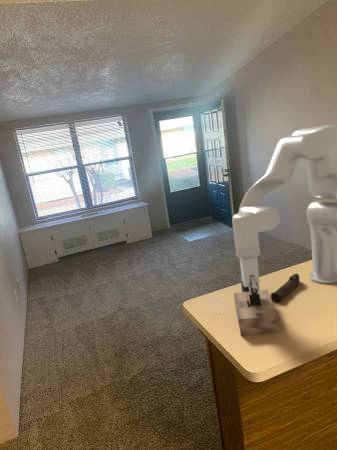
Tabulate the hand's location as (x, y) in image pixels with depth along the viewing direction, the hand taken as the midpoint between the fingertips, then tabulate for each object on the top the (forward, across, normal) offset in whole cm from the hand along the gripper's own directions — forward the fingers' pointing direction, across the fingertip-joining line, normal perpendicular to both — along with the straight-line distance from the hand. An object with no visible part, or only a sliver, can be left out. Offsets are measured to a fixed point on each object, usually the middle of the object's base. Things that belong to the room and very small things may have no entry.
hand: (253, 297), depth 111 cm
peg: (+8, 0, 0) cm, 8 cm away
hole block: (+8, 0, 0) cm, 8 cm away
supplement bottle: (+8, -20, +1) cm, 22 cm away
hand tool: (+9, -18, +14) cm, 24 cm away
